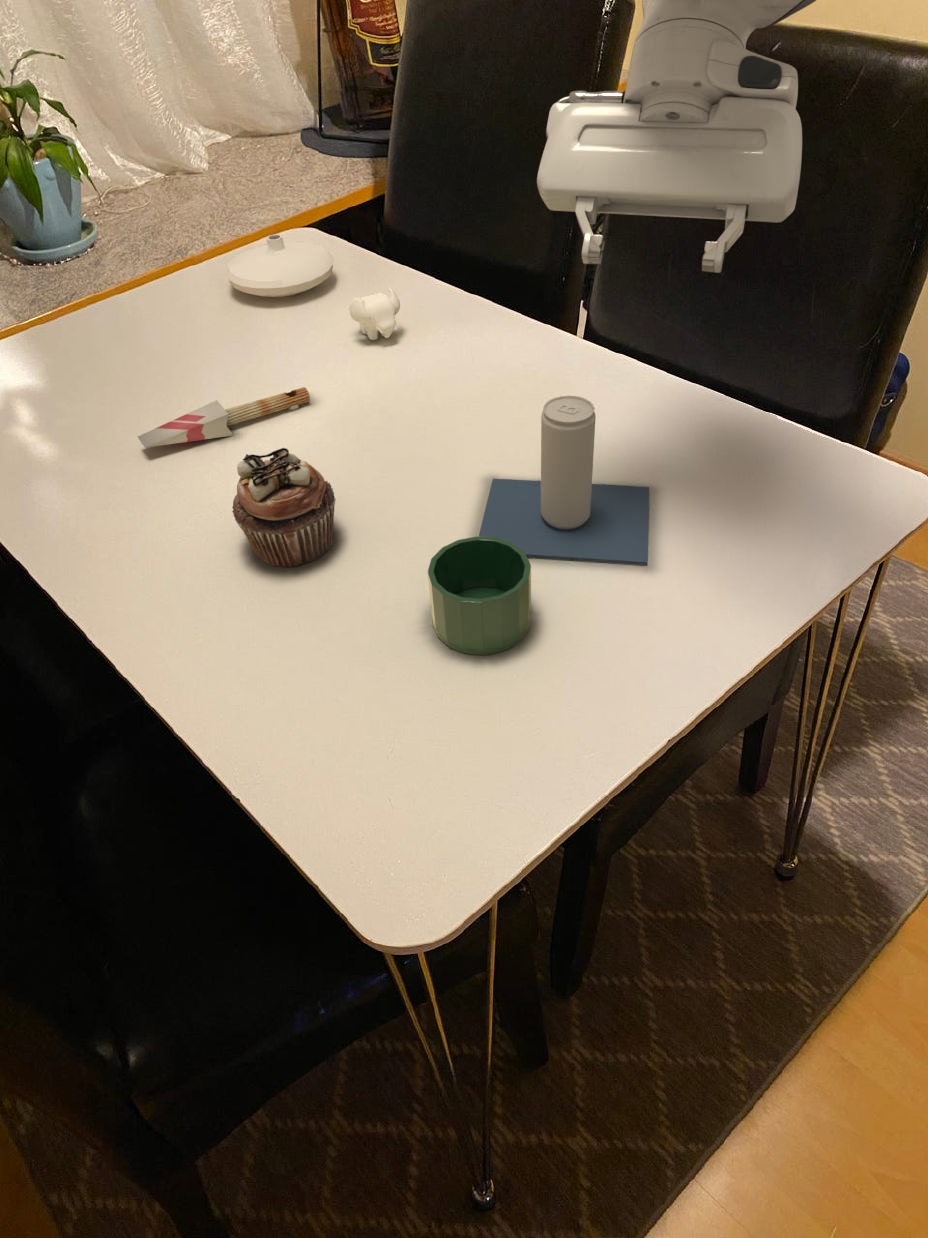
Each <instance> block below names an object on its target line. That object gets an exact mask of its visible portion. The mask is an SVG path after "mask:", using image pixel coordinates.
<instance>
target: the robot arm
mask: <svg viewBox="0 0 928 1238" xmlns="http://www.w3.org/2000/svg"><path fill="white" fill-rule="evenodd" d="M816 1H817V0H641V8H642V23H641V27H640V29H638V33H637V34H636V37H635V39H634V42H633V46H632V52H631V57H630V63H629V68H628V72H627V73H628V74H627V78H626V84H625V89H624V90H623V91H622V90H603V91H602V90H601V91H592V92H591V91H586V90H573V91H570V93H569V95H567V96H564V97H562V98H560V99H558V100H557V101H556V102H555V103H553V104H552V106H550V109H549V113H548V118H547V123H546V128H545V136H546V143H545V146H544V149H543V153H542V156H541V159H540V163H539V166H538V171H537V177H536V184H537V185H536V186H537V190H538V193H539V196H540V198H541V200H542V202H543V203H544V205H545V206H546V207H547V209H549V211H554V212H573V213H575V216H576V219H577V223H578V226H579V228H580V231H581V233H582V236H583V243H582V247H581V248H582V249H581V260H582V263H583V264H584V265H585V264H586V265H600V266H601V265H602V264H603V259H604V257H603V255H604V253H605V249H606V243H605V241H604V240H605V238H604V235H603V234H595V233H594V232H593V230H592V227H591V225H595V224H596V223H597V218H598V217H597V216H598V214H610V215H611V214H612V215H613V214H614V215H629V216H630V215H631V216H647V217H648V216H649V217H669V218H687V219H705V220H706V219H707V220H723V221H724V220H725V222H724V231H723V232H722V233H721V235H720V236H719V237H718V239H717V240H716V241H711V240H710V241H705V243H704V250H703V252H704V253H703V255H702V260H701V272H707V273H716V274H717V273H718V274H721V272H722V269H723V264H724V259H725V253H727V252H728V251H729V250H730V249H731V248H732V246H733V245H734V244H735V243H736V242H737V240H738V239H739V238H740V237H741V236H742V234H743V233H744V229H745V222H762V223H763V222H764V223H782V222H784V221H785V220H786V219H787V218H788V217H789V216H790V215H791V214H792V213H794V211H795V208H796V204H797V198H798V191H799V186H800V181H801V170H802V158H803V156H802V155H803V126H802V120H801V117H800V114H799V113H798V111H797V109H796V108H797V103H798V97H799V96H798V95H799V77H798V71H797V69H796V68H795V67H794V66H793V65H790V64H788V63H785V62H782V61H780V60H776V59H773V58H770V57H767V56H765V55H762V54H758V53H756V52H754V51H751V50H748V49H746V46H747V41H748V39H749V37H750V36H751V34H752V33H753V32H754V31H755V30H756V29H759V30H765V29H768V28H770V27H773V26H774V25H776V24H779V23H780V22H782V21H784V20H785V19H787V18H789V17H791V16H792V15H794V14H796V13H798V12H800V11H802V10H803V9H805V8H807V7H809V6H810V5H812V4H814V3H815V2H816Z"/></svg>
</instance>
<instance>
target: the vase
mask: <svg viewBox="0 0 928 1238" xmlns="http://www.w3.org/2000/svg"><path fill="white" fill-rule="evenodd" d="M333 268H334V257H333V256H332V254H331V253H330V252H329V251H328V250H327V249H325V248H324V247H323V246H321V245H319V244H315V243H311V242H306V241H284V238H283V235H282V234H278V233H275V234H270V235H267V236H266V243H264V244H261V245H258V246H257V245H256V246H254V247H251V248H249V249H246V250H244V251H242V252H239V253H238V254H236V255H235V256H233V258H232V259H231V260H230V261H229V262H228V264H227V266H226V269H225V276H226V279H227V280H228V282H229V283H230V285H231V287H233V288H235V289H236V290H237V291H239V292H243V293H245V294H249V295H254V296H257V297H265V298H282V297H290V296H295V295H298V294H301V293H305V292H306V291H309V290H311V289H312V288H315V287H317V286H318V285H319V284H321V283H323V282H324V281H325V280H327V279H328V278H329V277H330V276H331V274H332V273H333Z"/></svg>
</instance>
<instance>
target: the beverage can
mask: <svg viewBox="0 0 928 1238" xmlns="http://www.w3.org/2000/svg"><path fill="white" fill-rule="evenodd" d="M596 416H597V415H596V412H595V406H594V404H593V403H592V402H591V401H590V400H589V399H587V398H585V397H582V396H577V395H560V396H556V397H553V398H551V399H549V400H547V401H546V402H545V403H544V405H543V408H542V412H541V419H540V423H541V424H540V426H541V427H540V481H541V515H542V517H543V518H544V520H545V521H546V522H547V523H548V524H549V525H551V526H552V527H554V528H557V529H562V530H569V529H574V528H577V527H579V526H581V525H582V524H583V523H585V522H586V521H587V520H588V518H589V516H590V508H591V490H592V484H593V471H594V470H593V469H594V454H595V451H594V450H595V433H596Z"/></svg>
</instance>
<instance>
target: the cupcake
mask: <svg viewBox="0 0 928 1238" xmlns="http://www.w3.org/2000/svg"><path fill="white" fill-rule="evenodd" d="M263 458H269V459H267V460H263ZM236 467H237V468H236V471H237V475H238V476H239V477H240V478H239V480H238V482H237V485H236V495H235V496H234V498H233V500H232V510H231V512H232V514H233V517H234V521H235V522H236V524H237V525H238V527H239V528H240V530H241V531H242V533H243V534H244V535H245V537H246V539H247V541H248V543H249V546H250V547H251V550H252V551H253V552H254V554H255V555H256V556H257V558H259V559H260V561H261V562H264V563H266V564H267V565H269V566H273V567H276V568H277V567H278V568H297V567H300V566H303V565H305V564H308V563H312V562H314V561H317V560H318V559H320V558H322V556H324V555H325V553H327V552H328V551H329V550H330V548H331V546H332V545H333V541H334V523H335V521H334V518H335V506H336V500H337V499H336V497H335V491H334V488H333V487H332V485H331V483H330V482H329V481H328V480H325V478H324V476H323V475H322V473H321V472H319V470H317V469H316V468H315V467H314V466H312V465H311V464H310V463H308V462H307V461H305V460H303V459H300V458H299V457H298V456H297V455H296V454H294V453H290V451H289V449H288V448H285V447H282V448H278V449H276V450H273V451H272V452H270V453H268V454H263V455H258V454H253V453H252V454H247V453H246V454H245V456H244V458H242V460H241V461H240V462H239V461H238V463H237V465H236Z"/></svg>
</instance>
